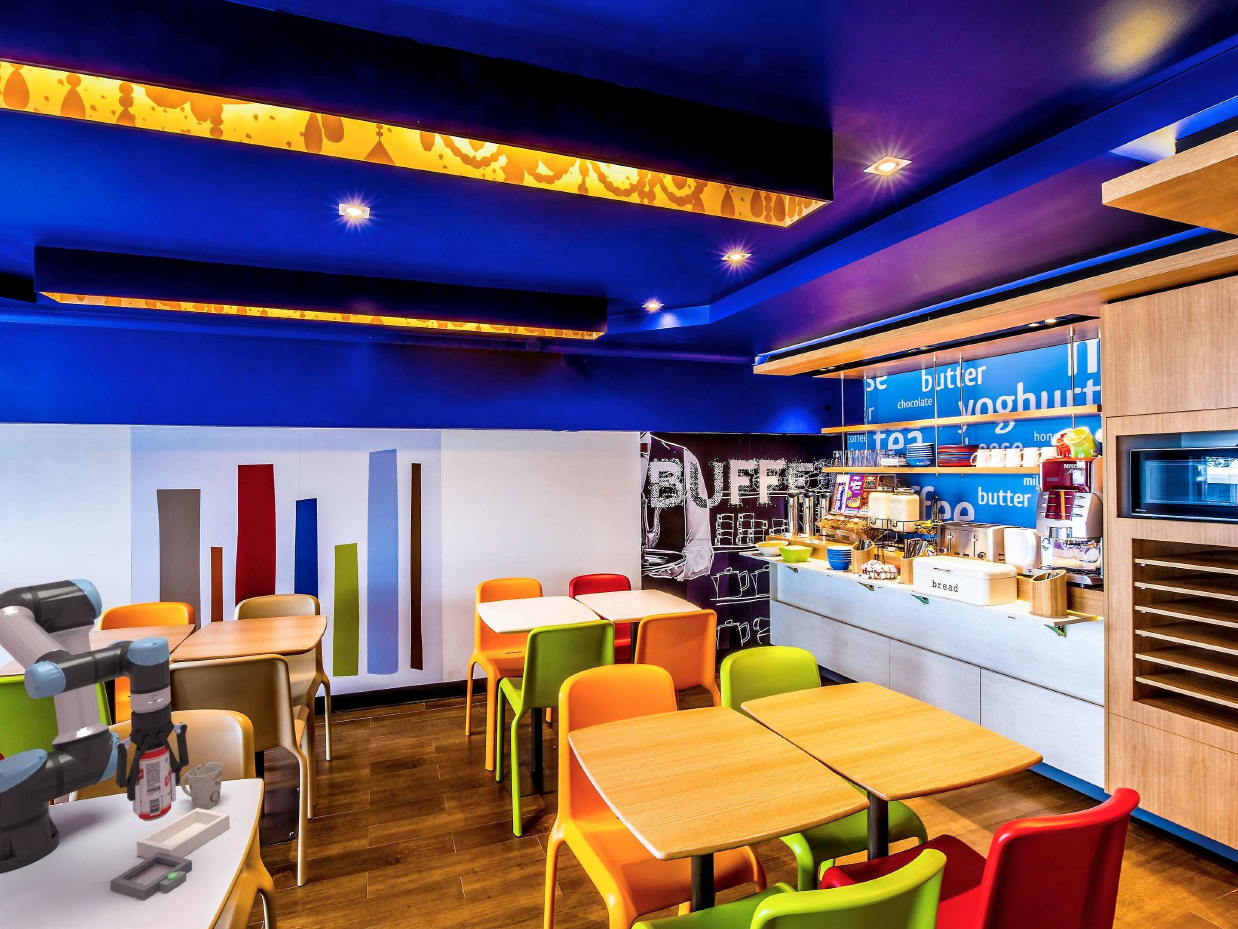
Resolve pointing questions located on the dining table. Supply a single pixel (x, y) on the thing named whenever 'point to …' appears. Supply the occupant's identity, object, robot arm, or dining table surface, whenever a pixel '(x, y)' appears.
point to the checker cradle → (160, 884)
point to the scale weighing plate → (151, 874)
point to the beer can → (154, 783)
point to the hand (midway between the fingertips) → (154, 805)
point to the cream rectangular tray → (184, 834)
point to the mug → (204, 784)
